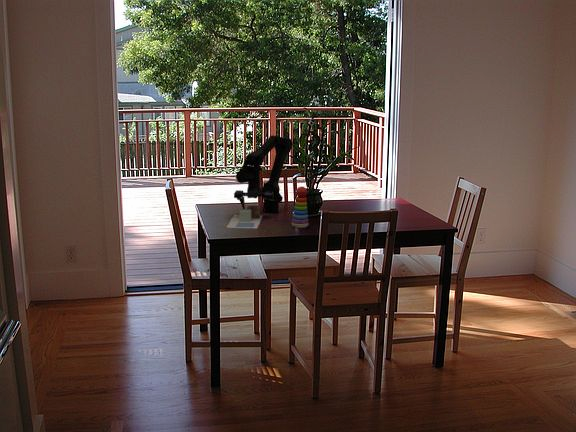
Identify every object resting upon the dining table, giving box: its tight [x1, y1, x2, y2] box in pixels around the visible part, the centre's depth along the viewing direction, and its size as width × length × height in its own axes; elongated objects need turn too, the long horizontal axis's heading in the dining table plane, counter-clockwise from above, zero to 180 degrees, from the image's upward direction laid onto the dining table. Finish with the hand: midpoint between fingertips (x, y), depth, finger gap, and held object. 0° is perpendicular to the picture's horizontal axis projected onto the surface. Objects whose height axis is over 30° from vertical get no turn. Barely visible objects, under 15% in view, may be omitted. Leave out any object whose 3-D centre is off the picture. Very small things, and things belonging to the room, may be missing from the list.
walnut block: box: [246, 205, 262, 219], centre depth 333 cm, size 6×6×5 cm
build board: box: [225, 214, 263, 229], centre depth 325 cm, size 14×27×1 cm, turn 176°
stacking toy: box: [291, 186, 309, 229], centre depth 318 cm, size 8×8×19 cm
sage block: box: [239, 208, 252, 222], centre depth 325 cm, size 5×5×5 cm
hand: (253, 212), depth 333 cm, fingers open, 9 cm apart
